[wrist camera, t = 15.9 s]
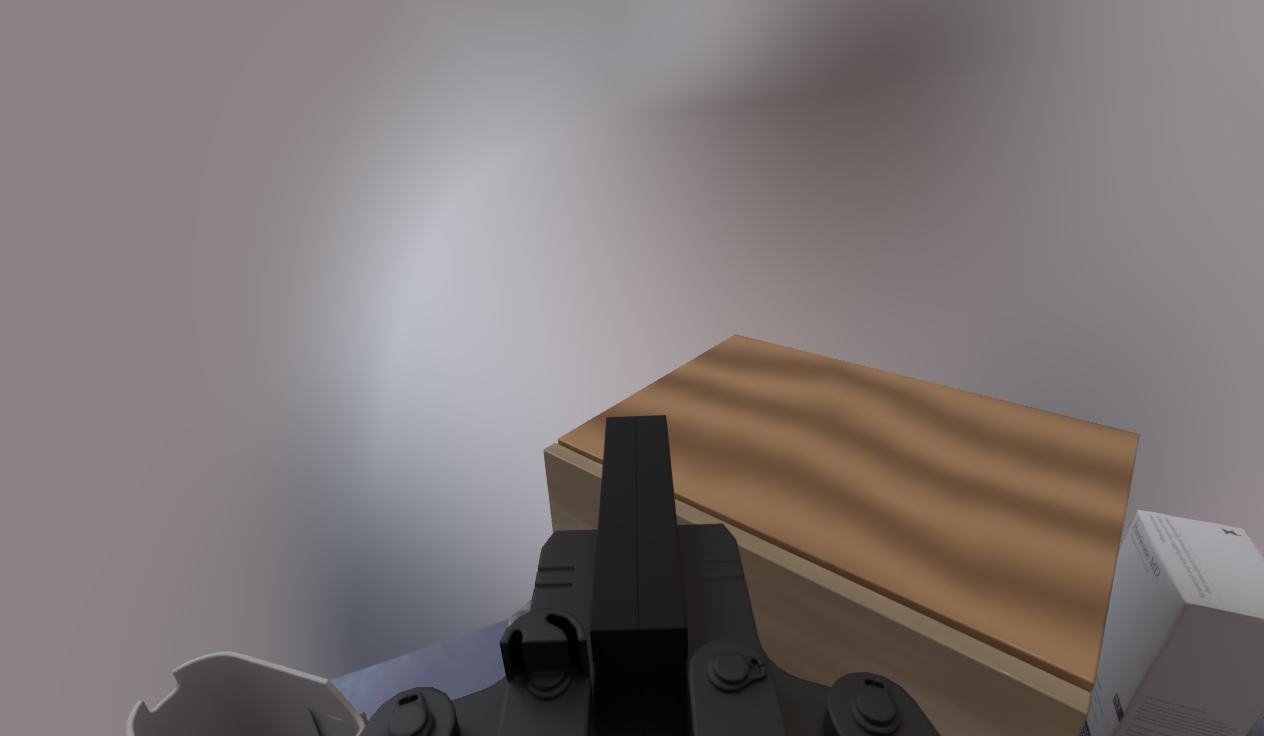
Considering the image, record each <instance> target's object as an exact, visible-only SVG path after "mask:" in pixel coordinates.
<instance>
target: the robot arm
mask: <svg viewBox="0 0 1264 736" xmlns="http://www.w3.org/2000/svg"><path fill="white" fill-rule="evenodd" d="M500 647H501V652H502V658H503V663H504V668H505V673H506V676H505V677H504V678H503V679H501V680H500V681H498V682H497V683H495V684H494V685H492V686H490V687H488V688H486V689H483V690H481V691H479V692H476V693H473V694H470V695H467V696H464V697H461V698H458V699H455V700H452V701H451V700H450V698H449V697H448V696H447V694H446V693H444V692H442V691H440V690H437V689H435V688H433V687H416V688H413V689H410V690H407V691H404V692H401V693H399V694H397V695H396V696H394V697H393V698H391V699H390V700H388V701H387V702H385V703H384V704H383V705H382V706H381V707H380V708H379V709H378V710H377V711H376V712H375V714H374V715H373V716H372V717H371V718H370V720H369V721H368V723H367V724H366V726H365V727H364V729H363V730H362V732H361V733H360V735H359V736H940V734H939V733H938V731H937V730H936V729H935V727H934V726H933V725H932V723H931V722H930V720H929V719H928V718H927V716H926V715H925V714H924V712H923V711H922V709H921V708H920V707H919V705H918V704H917V703H916V701H915V700H914V699H913V698H912V697H911V696H910V695H909V694H908V693H907V692H906V691H905V690H904V689H903V688H902V687H901V686H900V685H898V684H896V683H895V682H893V681H891V680H889V679H888V678H886V677H884V676H881V675H877V674H873V673H869V672H856V673H849V674H847V675H845V676H843V677H841V678H839V679H837V680H836V681H835V683H834V684H833V686H832V687H830V686H826V685H822V684H818V683H815V682H811V681H807V680H804V679H801V678H798V677H795V676H793V675H790V674H789V673H787V672H785V671H784V670H782V669H781V668H779V667H778V666H777V665H776V664H775V663H774V662H773V661H771V660H770V659H769V657H768V656H767V654H766V653H765V651H764V650H763V648H762V645H761V643H760V640H759V637H758V632H757V628H756V623H755V619H754V615H753V610H752V606H751V601H750V597H749V592H748V588H747V584H746V580H745V575H744V570H743V566H742V563H741V557H740V553H739V548H738V544H737V540H736V539H735V537H734V536H733V535H732V534H731V533H730V531H729V530H728V529H727V528H726V527H725V525H724V524H723V523H719V524H690V525H677V517H676V507H675V497H674V487H673V477H672V467H671V457H670V447H669V437H668V427H667V417H666V415H650V416H624V417H606V428H605V441H604V454H603V467H602V480H601V493H600V506H599V519H598V529H593V530H565V531H554V533H553V534H552V535H551V537H550V538H549V539H548V541H547V542H546V543H545V545H544V546H543V547H542V550H541V555H540V560H539V565H538V572H537V576H536V581H535V589H534V591H533V596H532V601H531V606H530V612H528V613H526V614H524V615H522V616H520V617H519V618H517V619H516V620H515V621H514V622H513V623H512V624H511V625H510V626H509V627H508V628H507V629H506V631H505V633H504V635H503V637H502V639H501V641H500Z"/></svg>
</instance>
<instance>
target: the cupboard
mask: <svg viewBox="0 0 1264 736" xmlns="http://www.w3.org/2000/svg"><path fill="white" fill-rule="evenodd" d="M650 415H666V417H667V427H668V437H669V447H670V457H671V467H672V477H673V487H674V497H675V499H677V500H679V501H681V502H683V503H685V504H687V505H689V506H692V507H694V508H696V509H698V510H700V511H702V512H704V513H707V514H709V515H711V516H713V517H715V518H717V519H719V520H722V521H724V522H726V523H728V524H730V525H732V526H734V527H737V528H739V529H741V530H743V531H745V532H747V533H749V534H752V535H754V536H756V537H758V538H760V539H762V540H764V541H767V542H769V543H771V544H773V545H775V546H777V547H779V548H782V549H784V550H786V551H788V552H790V553H792V554H794V555H796V556H799V557H801V558H803V559H805V560H807V561H809V562H811V563H814V564H816V565H818V566H820V567H822V568H824V569H826V570H829V571H831V572H833V573H835V574H837V575H839V576H841V577H844V578H846V579H848V580H850V581H852V582H854V583H856V584H859V585H861V586H863V587H865V588H867V589H869V590H871V591H874V592H876V593H878V594H880V595H882V596H884V597H886V598H889V599H891V600H893V601H895V602H897V603H899V604H901V605H904V606H906V607H908V608H910V609H912V610H914V611H916V612H919V613H921V614H923V615H925V616H927V617H929V618H931V619H934V620H936V621H938V622H940V623H942V624H944V625H946V626H949V627H951V628H953V629H955V630H957V631H959V632H961V633H964V634H966V635H968V636H970V637H972V638H974V639H976V640H979V641H981V642H983V643H985V644H987V645H989V646H991V647H994V648H996V649H998V650H1000V651H1002V652H1004V653H1006V654H1009V655H1011V656H1013V657H1015V658H1017V659H1019V660H1021V661H1024V662H1026V663H1028V664H1030V665H1032V666H1034V667H1036V668H1039V669H1041V670H1043V671H1045V672H1047V673H1049V674H1051V675H1053V676H1056V677H1058V678H1060V679H1062V680H1064V681H1066V682H1068V683H1071V684H1073V685H1075V686H1077V687H1079V688H1081V689H1083V690H1086V691H1088V692H1090V693H1091V692H1092V690H1093V687H1094V685H1095V681H1096V675H1097V670H1098V664H1099V659H1100V653H1101V648H1102V642H1103V637H1104V631H1105V626H1106V620H1107V614H1108V609H1109V603H1110V598H1111V592H1112V587H1113V581H1114V576H1115V570H1116V565H1117V559H1118V553H1119V548H1120V542H1121V537H1122V531H1123V526H1124V520H1125V514H1126V509H1127V503H1128V498H1129V492H1130V487H1131V481H1132V475H1133V470H1134V464H1135V459H1136V453H1137V448H1138V442H1139V436H1140V435H1139V434H1137V433H1133V432H1129V431H1125V430H1121V429H1117V428H1113V427H1109V426H1105V425H1101V424H1097V423H1093V422H1089V421H1084V420H1081V419H1076V418H1072V417H1068V416H1064V415H1060V414H1056V413H1052V412H1048V411H1044V410H1040V409H1036V408H1032V407H1028V406H1024V405H1019V404H1016V403H1011V402H1008V401H1004V400H999V399H995V398H991V397H987V396H983V395H979V394H975V393H971V392H967V391H963V390H959V389H955V388H951V387H947V386H943V385H939V384H935V383H930V382H926V381H923V380H919V379H914V378H910V377H906V376H902V375H898V374H894V373H890V372H886V371H882V370H878V369H874V368H870V367H866V366H861V365H858V364H854V363H850V362H845V361H842V360H837V359H833V358H829V357H825V356H821V355H817V354H813V353H809V352H805V351H801V350H797V349H793V348H789V347H784V346H781V345H776V344H772V343H768V342H764V341H761V340H756V339H752V338H748V337H744V336H740V335H733V336H732V337H730V338H728V339H727V340H725V341H723V342H721V343H720V344H718V345H716V346H715V347H713V348H711V349H710V350H708V351H706V352H704V353H703V354H701V355H699V356H698V357H696V358H694V359H693V360H691V361H689V362H688V363H686V364H684V365H682V366H681V367H679V368H677V369H676V370H674V371H672V372H671V373H669V374H667V375H665V376H664V377H662V378H660V379H659V380H657V381H655V382H654V383H652V384H650V385H648V386H647V387H645V388H643V389H642V390H640V391H638V392H637V393H635V394H633V395H631V396H630V397H628V398H626V399H625V400H623V401H621V402H620V403H618V404H616V405H614V406H613V407H611V408H609V409H608V410H606V411H604V412H603V413H601V414H599V415H597V416H596V417H594V418H592V419H591V420H589V421H587V422H586V423H584V424H582V425H580V426H579V427H577V428H576V429H574V430H572V431H571V432H569V433H567V434H565V435H564V436H562V437H560V438H559V439H558V444H559V445H561V446H563V447H565V448H567V449H569V450H572V451H574V452H576V453H578V454H580V455H582V456H584V457H587V458H589V459H591V460H593V461H595V462H597V463H599V464H602V465H603V454H604V441H605V428H606V417H624V416H650Z"/></svg>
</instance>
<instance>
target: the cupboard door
mask: <svg viewBox="0 0 1264 736" xmlns="http://www.w3.org/2000/svg"><path fill="white" fill-rule="evenodd" d="M544 459H545V468H546V476H547V485H548V493H549V502H550V510H551V519H552V527H553V533H554V531H565V530H593V529H598V519H599V506H600V493H601V480H602V467H603V465H602V464H599V463H597V462H595V461H593V460H591V459H589V458H587V457H584V456H582V455H580V454H578V453H576V452H574V451H572V450H569V449H567V448H565V447H563V446H561V445H559V444H557V443H554V444H553V445H551V446H549V447H547V448H546V449H544ZM675 507H676V517H677V525H690V524H719V523H723V524H724V525H725V527H726V528H727V529H728V530H729V531H730V533H731V534H732V535H733V536H734V537H735V539H736V540H737V544H738V548H739V553H740V557H741V563H742V566H743V570H744V575H745V580H746V584H747V588H748V592H749V597H750V601H751V606H752V610H753V615H754V619H755V623H756V628H757V632H758V637H759V640H760V643H761V645H762V648H763V650H764V651H765V653H766V654H767V656H768V657H769V659H770V660H771V661H773V662H774V663H775V664H776V665H777V666H778V667H779V668H781V669H782V670H784V671H785V672H787V673H789V674H790V675H793V676H795V677H798V678H801V679H804V680H807V681H811V682H815V683H818V684H822V685H826V686H830V687H832V686H833V684H834V683H835V681H836V680H837V679H839V678H841V677H843V676H845V675H847V674H849V673H856V672H869V673H873V674H877V675H881V676H884V677H886V678H888V679H889V680H891V681H893V682H895V683H896V684H898V685H900V686H901V687H902V688H903V689H904V690H905V691H906V692H907V693H908V694H909V695H910V696H911V697H912V698H913V699H914V700H915V701H916V703H917V704H918V705H919V707H920V708H921V709H922V711H923V712H924V714H925V715H926V716H927V718H928V719H929V720H930V722H931V723H932V725H933V726H934V727H935V729H936V730H937V731H938V733H939V734H940V736H1080V734H1081V731H1082V729H1083V727H1084V724H1085V722H1086V720H1087V717H1088V715H1089V710H1090V705H1091V699H1092V694H1091V693H1090V692H1088V691H1086V690H1083V689H1081V688H1079V687H1077V686H1075V685H1073V684H1071V683H1068V682H1066V681H1064V680H1062V679H1060V678H1058V677H1056V676H1053V675H1051V674H1049V673H1047V672H1045V671H1043V670H1041V669H1039V668H1036V667H1034V666H1032V665H1030V664H1028V663H1026V662H1024V661H1021V660H1019V659H1017V658H1015V657H1013V656H1011V655H1009V654H1006V653H1004V652H1002V651H1000V650H998V649H996V648H994V647H991V646H989V645H987V644H985V643H983V642H981V641H979V640H976V639H974V638H972V637H970V636H968V635H966V634H964V633H961V632H959V631H957V630H955V629H953V628H951V627H949V626H946V625H944V624H942V623H940V622H938V621H936V620H934V619H931V618H929V617H927V616H925V615H923V614H921V613H919V612H916V611H914V610H912V609H910V608H908V607H906V606H904V605H901V604H899V603H897V602H895V601H893V600H891V599H889V598H886V597H884V596H882V595H880V594H878V593H876V592H874V591H871V590H869V589H867V588H865V587H863V586H861V585H859V584H856V583H854V582H852V581H850V580H848V579H846V578H844V577H841V576H839V575H837V574H835V573H833V572H831V571H829V570H826V569H824V568H822V567H820V566H818V565H816V564H814V563H811V562H809V561H807V560H805V559H803V558H801V557H799V556H796V555H794V554H792V553H790V552H788V551H786V550H784V549H782V548H779V547H777V546H775V545H773V544H771V543H769V542H767V541H764V540H762V539H760V538H758V537H756V536H754V535H752V534H749V533H747V532H745V531H743V530H741V529H739V528H737V527H734V526H732V525H730V524H728V523H726V522H724V521H722V520H719V519H717V518H715V517H713V516H711V515H709V514H707V513H704V512H702V511H700V510H698V509H696V508H694V507H692V506H689V505H687V504H685V503H683V502H681V501H679V500H677V499H675ZM531 601H532V599H531V600H530V601H529V602H528V603H527V604H525V605H524V606H523V607H521V608H520V609H519V610H518V611H517V612H515V613H514V614H513V615H512V616H511V617H510V619H509V622H508V625H509V626H510V625H511V624H512V623H513V622H514V621H515V620H516V619H517V618H519V617H520V616H522V615H524V614H526V613H528V612H530V606H531Z"/></svg>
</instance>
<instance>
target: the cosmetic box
mask: <svg viewBox="0 0 1264 736" xmlns="http://www.w3.org/2000/svg"><path fill="white" fill-rule="evenodd" d="M1091 694H1092V699H1091V705H1090V710H1089V715H1088V717H1087V723H1088V728H1089V732H1090V736H1246V735H1247V734H1248V733H1249V731H1250V730H1251V728H1252V727H1253V725H1254V724H1255V723H1256V721H1257V720H1258V718H1259V717H1260V716H1261V714H1262V713H1263V712H1264V557H1263V555H1262V554H1261V552H1260V551H1259V550H1258V548H1257V547H1256V545H1255V544H1254V542H1253V541H1252V539H1251V538H1250V536H1249V534H1248V533H1247V532H1246V531H1245V530H1244V529H1241V528H1236V527H1230V526H1225V525H1219V524H1214V523H1209V522H1203V521H1197V520H1191V519H1185V518H1179V517H1174V516H1169V515H1164V514H1160V513H1155V512H1148V511H1142V510H1138V511H1137V514H1136V516H1135V519H1134V521H1133V523H1132V525H1131V527H1130V530H1129V532H1128V534H1127V536H1126V539H1125V541H1124V543H1123V545H1122V547H1121V549H1120V551H1119V554H1118V559H1117V565H1116V570H1115V576H1114V581H1113V587H1112V592H1111V598H1110V603H1109V609H1108V614H1107V620H1106V626H1105V631H1104V637H1103V642H1102V648H1101V653H1100V659H1099V664H1098V670H1097V675H1096V681H1095V685H1094V687H1093V690H1092V692H1091Z"/></svg>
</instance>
